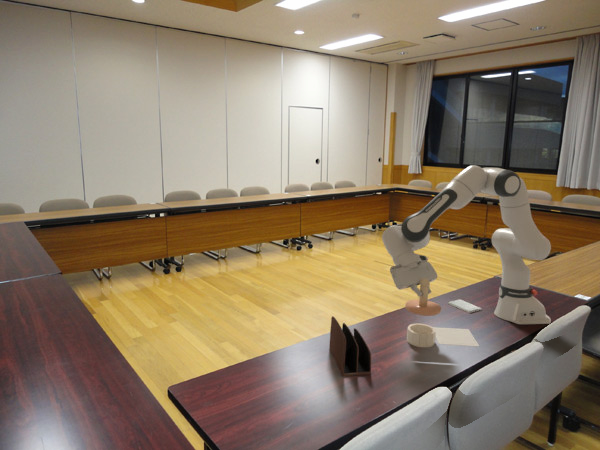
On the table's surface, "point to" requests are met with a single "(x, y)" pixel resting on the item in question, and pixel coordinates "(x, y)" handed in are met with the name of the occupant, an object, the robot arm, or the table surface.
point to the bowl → (421, 335)
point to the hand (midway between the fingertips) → (425, 294)
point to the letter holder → (349, 350)
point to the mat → (455, 336)
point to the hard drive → (464, 306)
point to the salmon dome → (423, 302)
